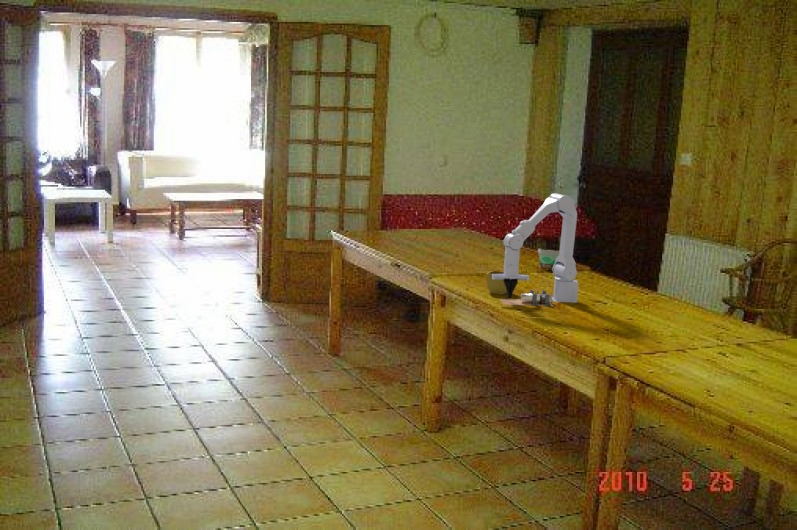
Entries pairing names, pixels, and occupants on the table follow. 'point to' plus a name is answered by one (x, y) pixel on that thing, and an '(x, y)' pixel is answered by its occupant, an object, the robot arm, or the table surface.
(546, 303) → the rail
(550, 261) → the food container
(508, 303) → the tile
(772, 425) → the table surface
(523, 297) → the tube
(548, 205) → the robot arm
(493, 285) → the flower pot
